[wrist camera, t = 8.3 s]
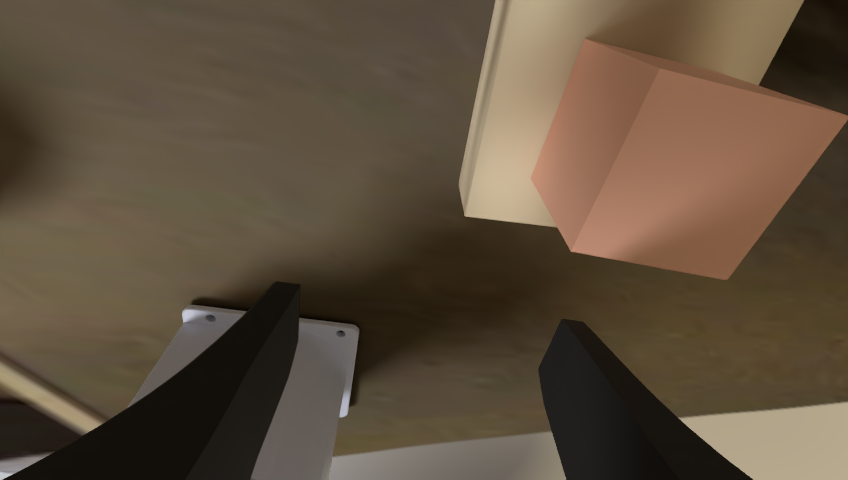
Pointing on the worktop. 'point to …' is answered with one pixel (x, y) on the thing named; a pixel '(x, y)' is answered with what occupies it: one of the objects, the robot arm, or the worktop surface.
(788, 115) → the terracotta cube
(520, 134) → the birch base block
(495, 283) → the worktop surface
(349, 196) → the worktop surface
